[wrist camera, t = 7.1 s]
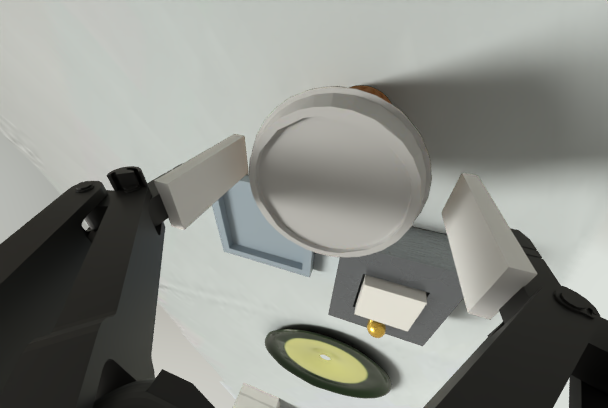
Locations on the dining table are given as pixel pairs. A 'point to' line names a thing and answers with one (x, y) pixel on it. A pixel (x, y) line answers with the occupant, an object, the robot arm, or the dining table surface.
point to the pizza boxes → (255, 398)
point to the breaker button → (389, 302)
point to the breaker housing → (403, 282)
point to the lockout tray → (256, 232)
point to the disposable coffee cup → (340, 171)
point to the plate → (327, 363)
